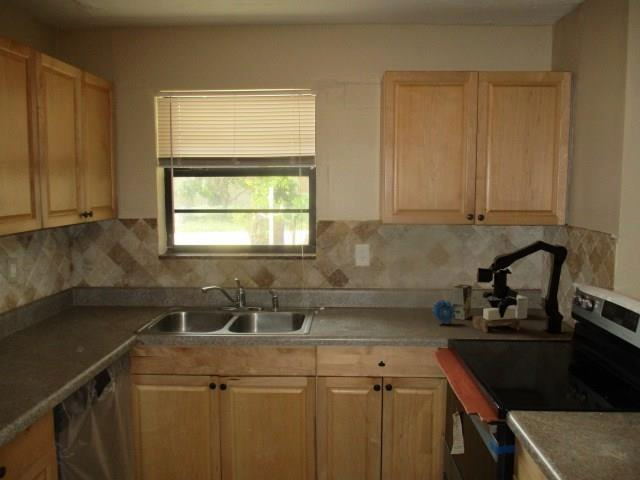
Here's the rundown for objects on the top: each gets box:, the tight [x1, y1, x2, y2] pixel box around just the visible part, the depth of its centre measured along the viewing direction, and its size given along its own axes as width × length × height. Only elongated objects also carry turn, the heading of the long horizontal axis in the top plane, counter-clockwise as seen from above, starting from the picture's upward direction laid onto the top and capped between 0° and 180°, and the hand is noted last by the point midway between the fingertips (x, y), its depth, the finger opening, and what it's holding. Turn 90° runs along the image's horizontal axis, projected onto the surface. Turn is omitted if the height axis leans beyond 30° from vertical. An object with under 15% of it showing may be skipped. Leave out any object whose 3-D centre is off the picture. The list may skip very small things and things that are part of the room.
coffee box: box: [452, 284, 473, 321], centre depth 264 cm, size 9×6×16 cm
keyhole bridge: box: [472, 314, 521, 333], centre depth 245 cm, size 11×18×5 cm, turn 105°
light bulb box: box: [508, 294, 529, 320], centre depth 267 cm, size 11×7×11 cm, turn 25°
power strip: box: [482, 307, 515, 326], centre depth 242 cm, size 4×14×7 cm, turn 105°
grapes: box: [431, 299, 456, 325], centre depth 251 cm, size 12×7×12 cm, turn 97°
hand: (499, 316), depth 242 cm, fingers closed on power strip, 4 cm apart
